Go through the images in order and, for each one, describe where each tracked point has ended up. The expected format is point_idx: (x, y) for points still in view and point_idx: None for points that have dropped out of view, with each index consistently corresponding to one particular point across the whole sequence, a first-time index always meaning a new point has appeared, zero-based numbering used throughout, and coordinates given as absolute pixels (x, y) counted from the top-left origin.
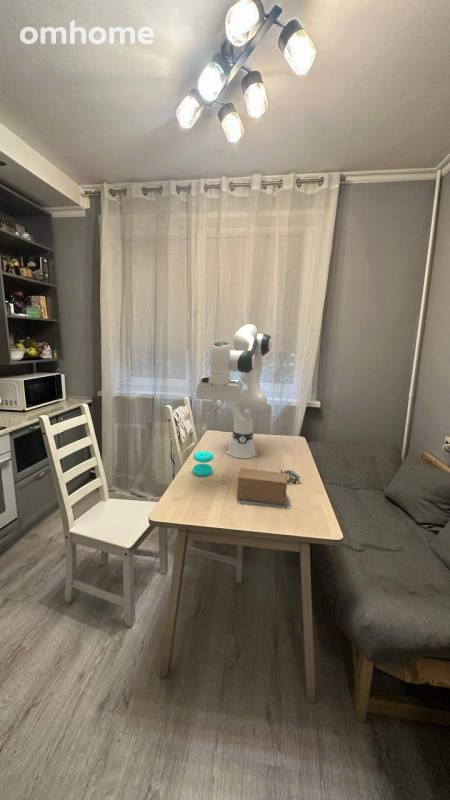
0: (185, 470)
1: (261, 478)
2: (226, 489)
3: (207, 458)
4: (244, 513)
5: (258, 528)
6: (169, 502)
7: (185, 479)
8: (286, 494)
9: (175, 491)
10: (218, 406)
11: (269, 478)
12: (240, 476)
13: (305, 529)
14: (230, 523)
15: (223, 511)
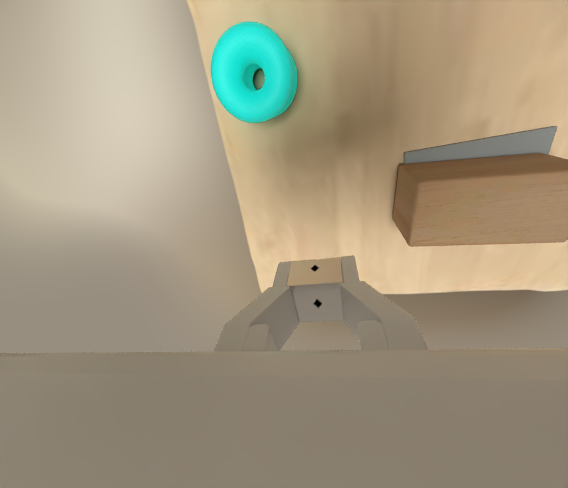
0: (210, 90)
1: (483, 238)
2: (361, 172)
3: (278, 109)
4: (408, 257)
5: (431, 290)
6: (261, 258)
7: (241, 154)
8: (548, 151)
9: (250, 220)
10: (327, 318)
11: (512, 231)
12: (415, 243)
13: (528, 276)
14: (381, 288)
15: (365, 261)
